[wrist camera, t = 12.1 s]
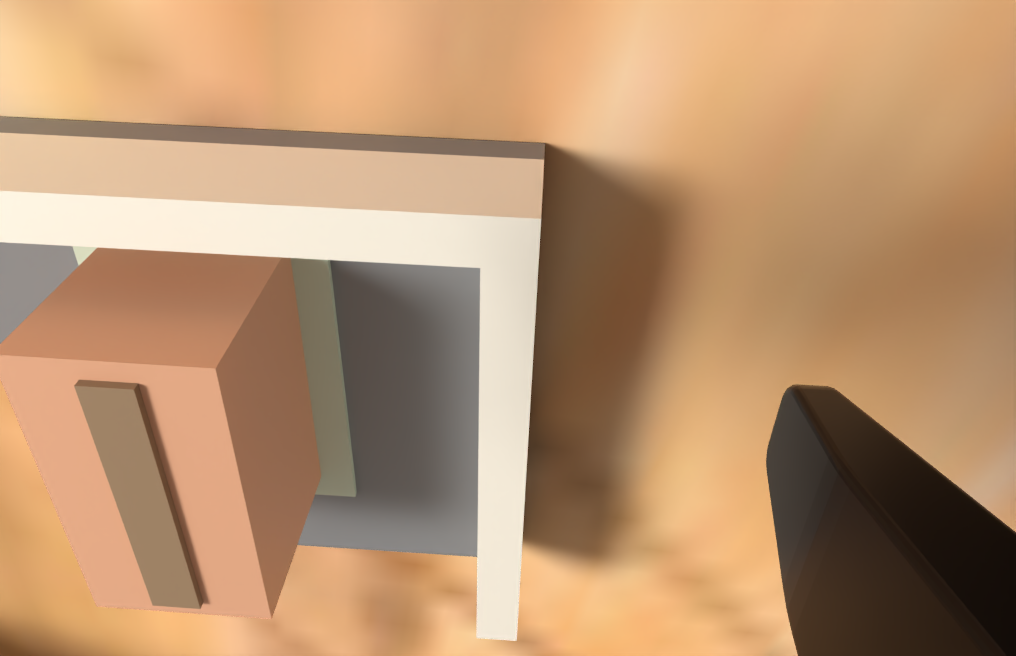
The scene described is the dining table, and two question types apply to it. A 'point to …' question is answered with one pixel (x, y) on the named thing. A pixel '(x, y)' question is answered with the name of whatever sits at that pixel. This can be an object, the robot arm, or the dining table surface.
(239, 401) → the terracotta block
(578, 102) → the dining table surface
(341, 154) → the tray
